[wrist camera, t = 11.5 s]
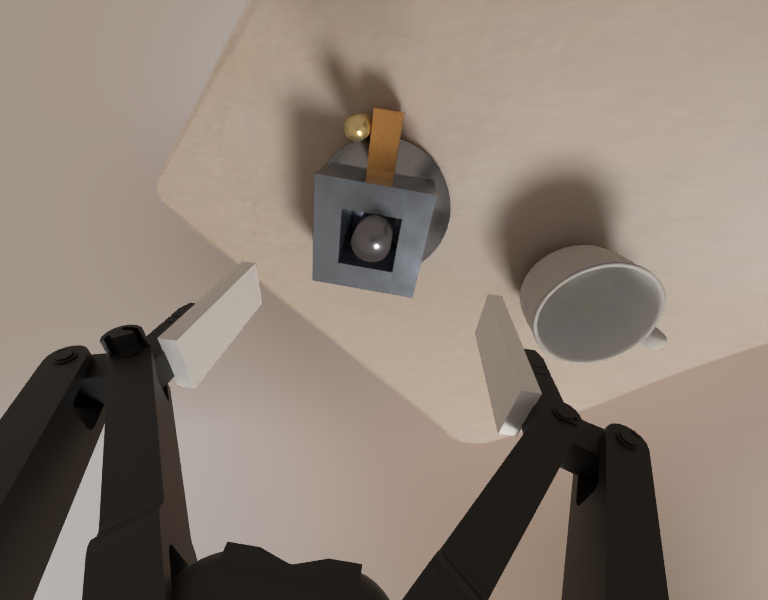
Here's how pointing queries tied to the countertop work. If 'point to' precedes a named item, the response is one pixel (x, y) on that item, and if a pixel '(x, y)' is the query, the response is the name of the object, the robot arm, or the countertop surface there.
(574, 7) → the countertop surface
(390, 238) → the rod on disc base
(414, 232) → the grey hollow block
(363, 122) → the dowel pin
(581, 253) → the teacup
